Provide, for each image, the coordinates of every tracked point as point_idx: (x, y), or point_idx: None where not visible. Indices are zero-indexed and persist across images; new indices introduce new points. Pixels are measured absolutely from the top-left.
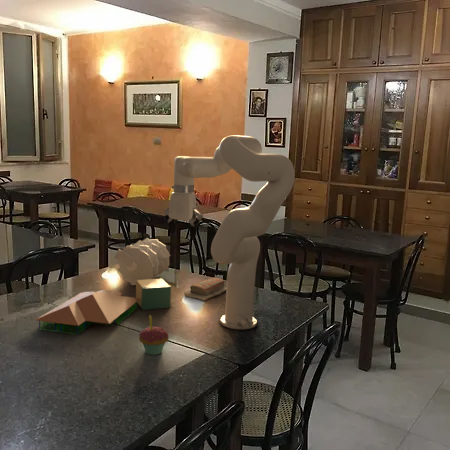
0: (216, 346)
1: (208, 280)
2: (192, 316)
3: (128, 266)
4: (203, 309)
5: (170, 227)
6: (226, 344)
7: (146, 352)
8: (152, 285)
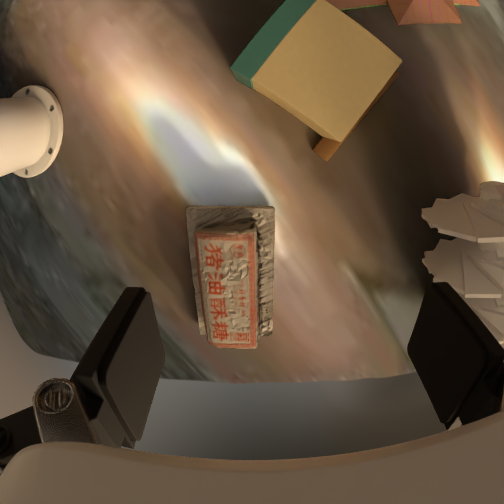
0: (16, 8)
1: (240, 312)
2: (132, 70)
3: (502, 184)
4: (143, 140)
5: (462, 320)
6: (6, 29)
7: None
8: (302, 32)
